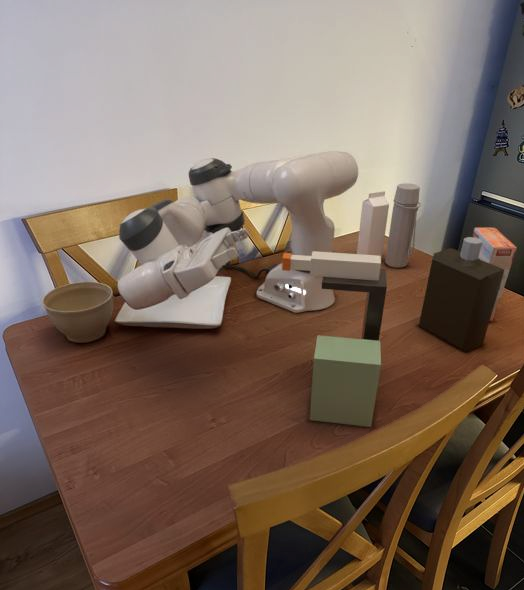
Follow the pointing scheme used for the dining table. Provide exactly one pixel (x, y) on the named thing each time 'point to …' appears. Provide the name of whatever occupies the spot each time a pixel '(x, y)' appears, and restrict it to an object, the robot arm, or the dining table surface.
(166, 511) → the dining table surface
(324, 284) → the dark l-shaped bracket
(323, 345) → the green block
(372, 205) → the milk
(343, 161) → the robot arm
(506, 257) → the cracker box
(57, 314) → the planter bowl
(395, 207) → the water bottle
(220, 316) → the square plate
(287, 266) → the white bottle
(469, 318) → the bottle
